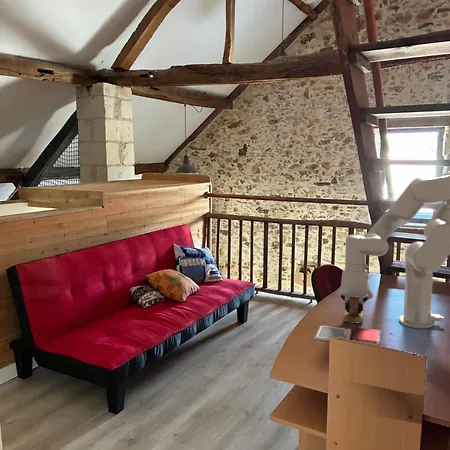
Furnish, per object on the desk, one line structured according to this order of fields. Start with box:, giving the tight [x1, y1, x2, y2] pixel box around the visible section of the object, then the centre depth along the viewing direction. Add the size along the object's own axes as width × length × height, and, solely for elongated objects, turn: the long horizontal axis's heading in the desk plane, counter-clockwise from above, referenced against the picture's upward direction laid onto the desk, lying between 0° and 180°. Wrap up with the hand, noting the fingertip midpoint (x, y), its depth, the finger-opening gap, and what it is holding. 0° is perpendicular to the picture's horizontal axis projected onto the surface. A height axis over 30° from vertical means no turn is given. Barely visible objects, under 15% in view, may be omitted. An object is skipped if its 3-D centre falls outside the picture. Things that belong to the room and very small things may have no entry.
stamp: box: [343, 296, 365, 324], centre depth 180 cm, size 7×7×9 cm
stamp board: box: [314, 325, 352, 342], centre depth 168 cm, size 12×13×1 cm
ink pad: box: [351, 327, 381, 346], centre depth 164 cm, size 9×12×2 cm
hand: (353, 311), depth 180 cm, fingers closed on stamp, 4 cm apart
